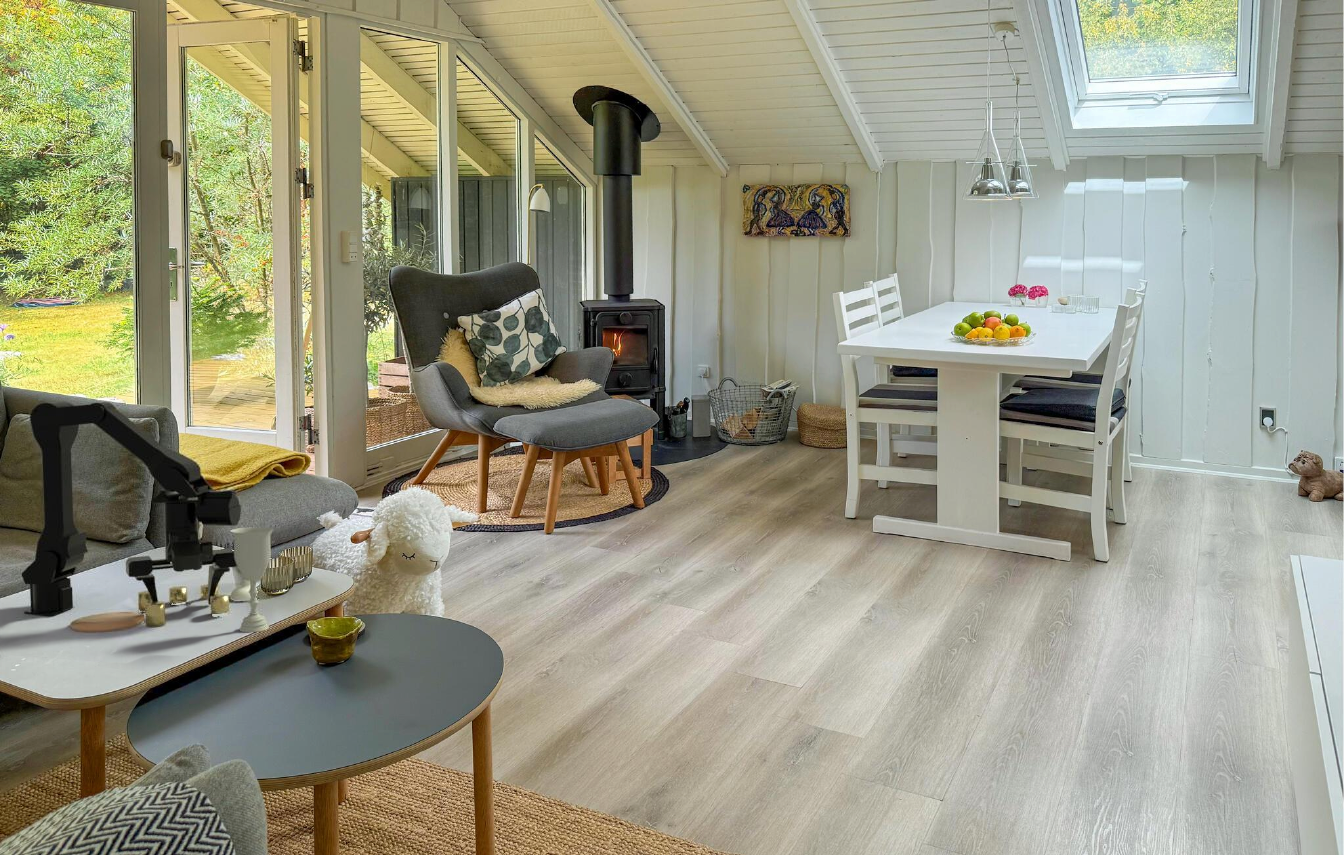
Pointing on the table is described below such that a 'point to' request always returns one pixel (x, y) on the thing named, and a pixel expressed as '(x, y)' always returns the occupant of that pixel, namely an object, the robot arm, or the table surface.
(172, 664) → the table surface
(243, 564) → the chalice
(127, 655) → the table surface
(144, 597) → the spacer field
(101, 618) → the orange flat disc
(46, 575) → the robot arm
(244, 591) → the cream white mushroom
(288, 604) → the table surface
